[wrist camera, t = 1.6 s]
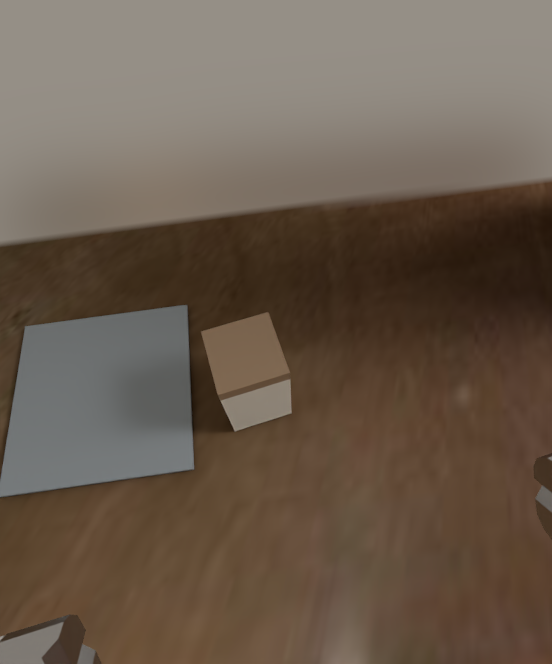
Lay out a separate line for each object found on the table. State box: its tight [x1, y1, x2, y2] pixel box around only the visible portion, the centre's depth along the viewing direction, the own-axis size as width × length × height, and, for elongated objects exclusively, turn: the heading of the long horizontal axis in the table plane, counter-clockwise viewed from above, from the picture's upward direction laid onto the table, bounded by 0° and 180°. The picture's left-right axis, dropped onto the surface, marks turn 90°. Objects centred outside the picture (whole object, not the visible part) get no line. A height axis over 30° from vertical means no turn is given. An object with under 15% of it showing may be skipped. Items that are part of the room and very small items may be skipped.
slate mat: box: [0, 305, 194, 497], centre depth 35 cm, size 14×14×1 cm
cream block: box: [201, 312, 292, 431], centre depth 31 cm, size 4×4×8 cm
